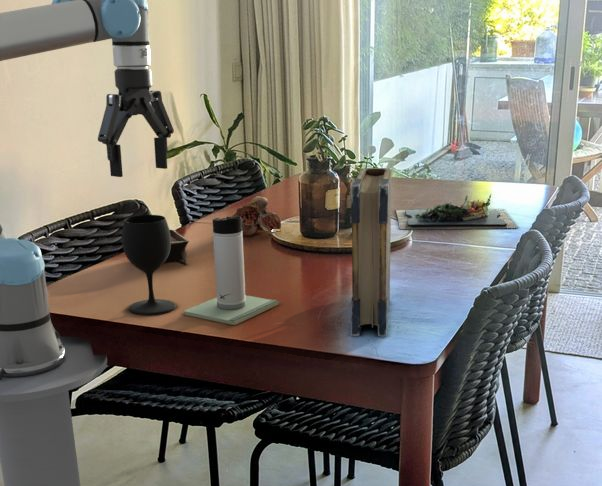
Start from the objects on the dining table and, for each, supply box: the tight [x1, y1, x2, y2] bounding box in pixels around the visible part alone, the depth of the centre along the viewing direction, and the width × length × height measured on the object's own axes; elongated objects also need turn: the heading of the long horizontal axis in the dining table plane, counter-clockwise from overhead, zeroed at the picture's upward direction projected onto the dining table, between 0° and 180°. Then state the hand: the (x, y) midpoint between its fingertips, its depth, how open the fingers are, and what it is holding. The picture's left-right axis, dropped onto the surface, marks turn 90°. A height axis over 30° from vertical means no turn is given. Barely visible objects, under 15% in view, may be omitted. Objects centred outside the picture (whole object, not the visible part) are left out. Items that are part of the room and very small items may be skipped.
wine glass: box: [121, 214, 177, 316], centre depth 188 cm, size 10×10×20 cm
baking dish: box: [164, 229, 190, 266], centre depth 226 cm, size 14×18×10 cm
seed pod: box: [232, 195, 282, 237], centre depth 253 cm, size 13×16×15 cm
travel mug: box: [212, 216, 246, 310], centre depth 185 cm, size 6×7×20 cm
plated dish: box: [395, 193, 518, 230], centre depth 267 cm, size 35×28×7 cm
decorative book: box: [349, 167, 392, 338], centre depth 177 cm, size 23×7×30 cm, turn 172°
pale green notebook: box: [182, 294, 280, 326], centre depth 189 cm, size 16×14×1 cm
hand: (139, 172), depth 185 cm, fingers open, 13 cm apart
